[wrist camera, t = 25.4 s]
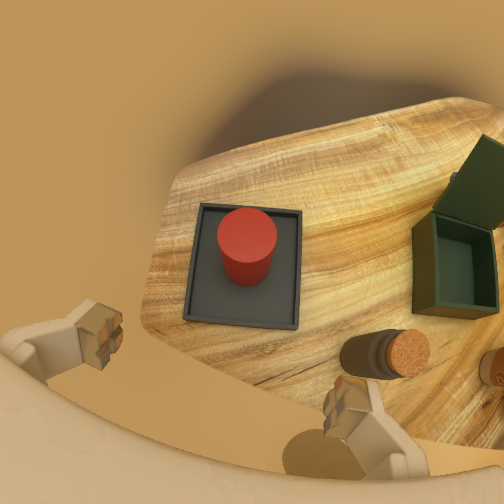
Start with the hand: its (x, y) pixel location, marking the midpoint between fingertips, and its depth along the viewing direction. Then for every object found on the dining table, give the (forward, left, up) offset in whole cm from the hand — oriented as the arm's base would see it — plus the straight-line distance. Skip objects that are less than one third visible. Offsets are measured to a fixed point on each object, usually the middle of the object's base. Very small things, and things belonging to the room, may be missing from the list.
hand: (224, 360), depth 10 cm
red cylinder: (+13, 0, -30) cm, 32 cm away
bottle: (+1, -17, -30) cm, 34 cm away
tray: (+13, 0, -30) cm, 33 cm away
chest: (+14, -34, -30) cm, 47 cm away
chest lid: (+22, -34, -15) cm, 43 cm away
